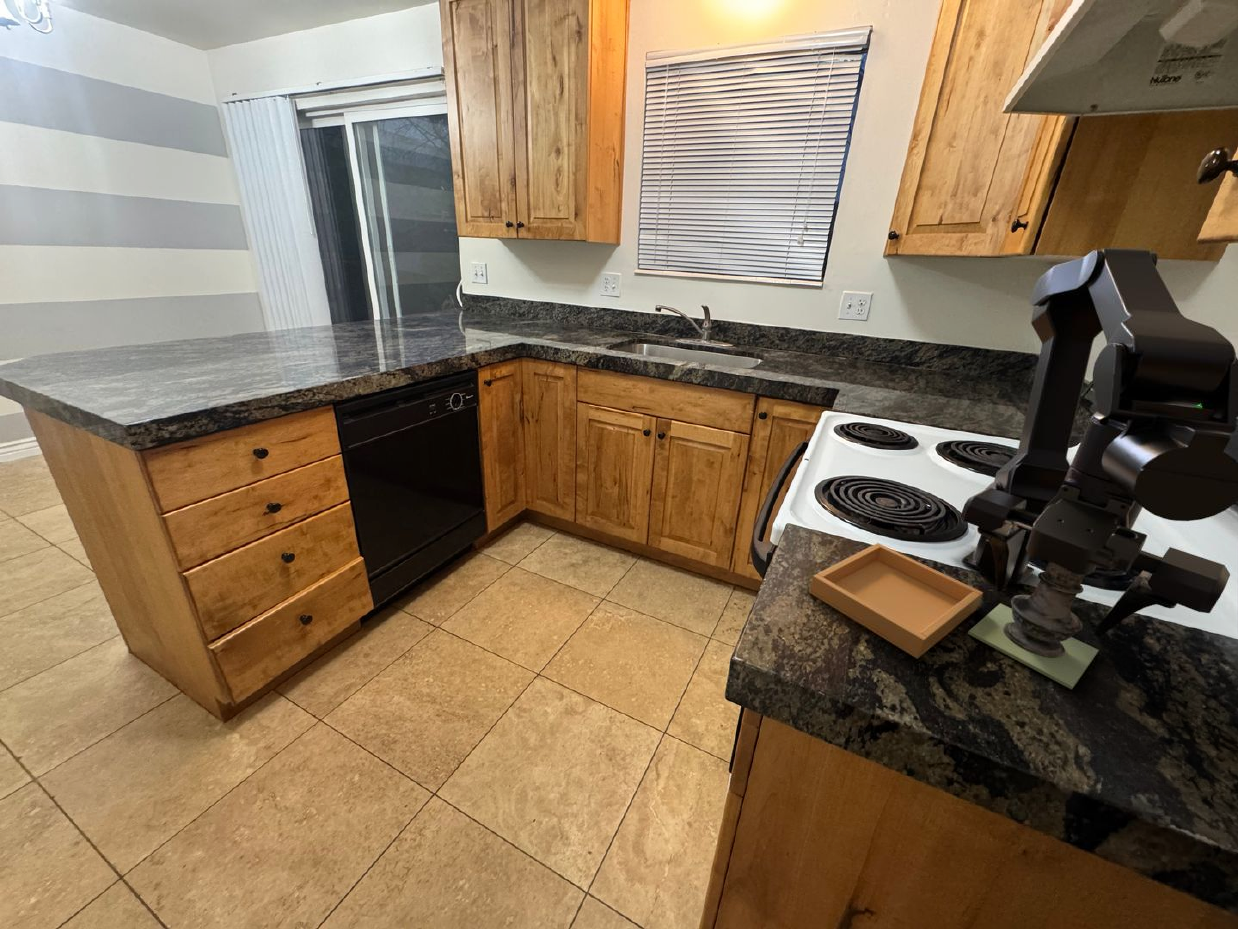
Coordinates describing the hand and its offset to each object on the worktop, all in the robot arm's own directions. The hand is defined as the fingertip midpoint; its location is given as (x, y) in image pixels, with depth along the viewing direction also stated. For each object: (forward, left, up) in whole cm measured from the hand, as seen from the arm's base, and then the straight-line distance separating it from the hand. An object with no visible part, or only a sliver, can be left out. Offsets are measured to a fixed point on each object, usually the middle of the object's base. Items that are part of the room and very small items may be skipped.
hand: (1045, 611), depth 51 cm
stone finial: (0, 0, -4) cm, 4 cm away
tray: (+6, -12, -4) cm, 14 cm away
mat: (0, 0, -4) cm, 4 cm away
